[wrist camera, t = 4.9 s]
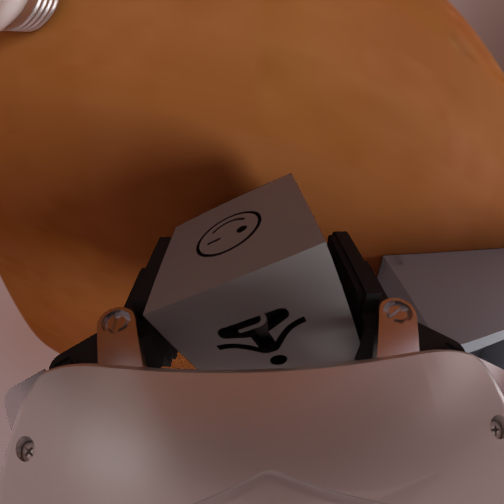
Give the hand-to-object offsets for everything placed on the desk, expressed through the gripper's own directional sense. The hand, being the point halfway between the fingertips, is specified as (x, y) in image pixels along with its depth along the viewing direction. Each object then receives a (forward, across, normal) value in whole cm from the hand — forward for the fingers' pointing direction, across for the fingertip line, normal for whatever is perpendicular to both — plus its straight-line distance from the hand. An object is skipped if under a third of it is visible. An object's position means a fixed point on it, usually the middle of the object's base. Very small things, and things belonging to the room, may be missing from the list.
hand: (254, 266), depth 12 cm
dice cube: (+1, 0, 0) cm, 1 cm away
